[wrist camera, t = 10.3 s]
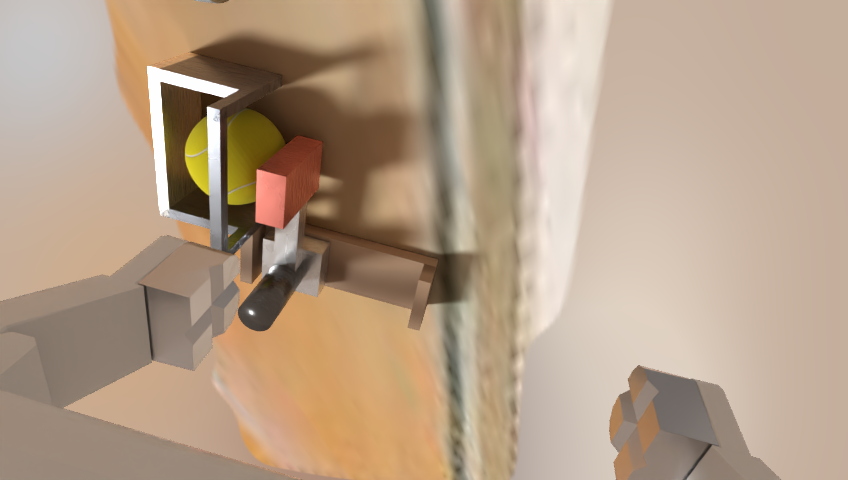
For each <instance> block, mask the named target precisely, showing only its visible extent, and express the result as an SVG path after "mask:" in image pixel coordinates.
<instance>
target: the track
mask: <svg viewBox="0 0 848 480" xmlns="http://www.w3.org/2000/svg"><path fill="white" fill-rule="evenodd" d="M272 228H273V227H272V226H269V225H265V224H262V225H261V226H260V227H259V228H258V229H257V230H256V232H255V233H254V234H253V235H252V236H251V237H250V238H249V239H248V240H247V241H246V242H245V243H244V244H243V245H242V246H241V271H240V281H242V282H246V283H249V284H252V283H253V282H254V280H255V279H256V278H257V277H258V276H259V274H260V273H261V272H262V255H263V238H264V237H265V236H266V235H267V234H268V233H269V232H270V230H271V229H272ZM304 235H305V236H309V237H313V238H317V239H320V240H324V241H328V242H330V250H329V259H328V267H327V276H326V284H325V286H328V287H332V288H335V289H339V290H343V291H346V292H350V293H353V294H357V295H361V296H364V297H368V298H372V299H375V300H379V301H382V302H386V303H390V304H393V305H397V306H401V307H404V308H408V309H412V311H411V315H410V320H409V324H408V328H412V329H415V330H420V327H421V323H422V320H423V317H424V313H425V310H426V307H427V303H428V299H429V295H430V291H431V287H432V283H433V279H434V275H435V271H436V267H437V263H438V259H435V258H432V257H428V256H424V255H420V254H417V253H413V252H409V251H406V250H402V249H398V248H394V247H391V246H387V245H383V244H380V243H376V242H372V241H368V240H365V239H361V238H357V237H353V236H350V235H346V234H342V233H339V232H335V231H331V230H327V229H324V228H320V227H316V226H313V225H309V224H305V233H304Z"/></svg>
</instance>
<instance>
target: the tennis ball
mask: <svg viewBox="0 0 848 480" xmlns="http://www.w3.org/2000/svg"><path fill="white" fill-rule="evenodd" d="M285 145H286V144H285V142H284V139H283V137H282V135H281V134H280V132H279V130H278V129H277V128H276V127H275V125H274V124H273V123H272V122H271V121H270V120H269V119H267V118H266V117H265V116H263V115H262V114H260V113H259V112H256V111H254V110H251V109H248V108H244V109H242V110H240V111H239V112H237V113H235V114H233V115H232V116H230V117H228V118H227V150H228V204H231V205H242V204H248V203H252V202H255V201H256V182H257V169H258V168H259V167H260V166H261V165H263V164H264V163H265V162H266V161H267V160H269V159H270V158H271V157H272V156H273V155H275V154H276V153H277V152H278V151H279V150H281V149H282V148H283V147H284V146H285ZM185 161H186V165H187V168H188V171H189V173H190V175H191V177H192V178H193V180H194V181H195V183H196V184H197V185H198V186H199V188H200V189H201V190H202V191H204V192H205V193H206V194H207V195H209V163H208V125H207V116H206V117H204V118H203V119H202V120H201V121H200V122H199V123H198V124H197V125H196V126H195V127H194V128H193V130H192V131H191V133H190V135H189V137H188V139H187V142H186V146H185Z"/></svg>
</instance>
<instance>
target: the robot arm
mask: <svg viewBox="0 0 848 480" xmlns="http://www.w3.org/2000/svg"><path fill="white" fill-rule="evenodd" d="M239 273H240V267H239V258H238V257H237V256H236V255H234V254H231V253H228V252H224V251H221V250H217V249H214V248H211V247H207V246H204V245H201V244H197V243H194V242H189V241H186V240H183V239H179V238H176V237H172V236H169V235H167V236H161V237H159V238H158V239H157V240H155V241H154V242H153V243H152V244H150V245H149V246H148V247H147V248H145V249H144V250H143V251H142V252H140V253H139V254H138V255H137V256H136V257H134V258H133V259H131V260H130V261H129V262H128V263H126V264H125V265H124V266H123V267H121V268H120V269H119V270H117V271H116V272H115V273H114V274H113V275H111V276H110V277H109V276H106V275H99V276H95V277H91V278H87V279H84V280H80V281H76V282H72V283H68V284H64V285H61V286H57V287H53V288H49V289H45V290H42V291H38V292H34V293H30V294H26V295H22V296H19V297H15V298H11V299H7V300H3V301H0V480H302V479H299V478H295V477H292V476H288V475H285V474H282V473H279V472H275V471H271V470H269V469H265V468H262V467H258V466H255V465H252V464H248V463H245V462H242V461H238V460H235V459H231V458H228V457H225V456H222V455H218V454H215V453H211V452H208V451H205V450H201V449H198V448H194V447H191V446H188V445H184V444H181V443H178V442H174V441H171V440H167V439H164V438H161V437H158V436H154V435H151V434H147V433H144V432H141V431H137V430H134V429H131V428H127V427H124V426H121V425H117V424H114V423H111V422H107V421H104V420H101V419H97V418H94V417H90V416H87V415H83V414H80V413H77V412H74V411H70V410H67V409H64V407H65V406H68V405H69V404H71V403H73V402H75V401H77V400H79V399H81V398H83V397H85V396H87V395H89V394H91V393H93V392H95V391H97V390H99V389H101V388H103V387H105V386H107V385H109V384H111V383H113V382H115V381H117V380H118V379H120V378H122V377H124V376H126V375H128V374H130V373H132V372H134V371H136V370H138V369H140V368H142V367H144V366H146V365H148V364H150V363H152V360H153V361H157V362H161V363H165V364H169V365H173V366H177V367H181V368H184V369H188V370H192V371H194V370H195V369H196V368H197V366H198V365H199V364H200V363H201V361H202V360H203V359H204V358H205V356H206V355H207V354H208V353H209V351H210V350H211V349H212V338H213V337H216V336H218V335H221V334H223V333H224V332H225V331H226V330H227V328H228V327H229V326H230V324H231V323H232V321H233V319H234V316H235V314H236V312H237V309H238V304H239V292H240V290H239V288H238V287H237V285H236V284H235V282H234V281H233V280H234V278H235V277H236V276H237V275H238V274H239ZM628 382H629V387H630V390H629V391H627V392H625V393H623V394H620V395H619V396H618V398H617V400H616V403H615V404H614V406H613V409H612V414H611V418H610V430H609V432H610V440H611V443H612V445H613V446H614V447H615V448H616V450H617V451H618V452H619V454H618V456H617V458H616V459H615V461H614V467H615V474H616V480H781V479H780V478H779V477H778V476H777V475H776V474H775V473H774V472H773V471H772V470H771V469H770V468H769V467H767V465H766V464H764V462H763V461H762V460H760V459H759V458H756V457H753V456H751V455H750V453H749V450H748V448H747V446H746V443H745V441H744V438H743V436H742V434H741V432H740V429H739V426H738V424H737V422H736V419H735V417H734V415H733V412H732V410H731V407H730V405H729V402H728V400H727V398H726V395H725V393H724V391H723V389H722V388H721V387H720V386H718V385H716V384H712V383H708V382H703V381H700V380H695V379H688V378H684V377H681V376H677V375H673V374H670V373H666V372H662V371H659V370H655V369H651V368H647V367H644V366H640V365H638V366H637V367H636V368H635V369H634V370H633V372H632V373H631V375H630V377H629V378H628Z"/></svg>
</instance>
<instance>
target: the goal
mask: <svg viewBox="0 0 848 480" xmlns="http://www.w3.org/2000/svg"><path fill="white" fill-rule="evenodd" d="M147 67H148V79H149V91H150V103H151V115H152V127H153V139H154V151H155V163H156V175H157V187H158V198H159V210H160V215H161V216H165V217H168V218H172V219H176V220H179V221H183V222H187V223H190V224H194V225H198V226H201V227H205V228H209V229H210V240H211V248H214V249H217V250H221V251H224V252H228V253H231V254H235V253H236V251H237V250H238V249H239V248H240V247H241V246H242V245H243V244H244V243H245V242H246V241H247V240H248V239H249V238H250V237H251V236H252V235H253V234H254V233H255V232H256V230H257V229H258V228H259V227H260V226H261V225H262V224H261V223H258V222H255V219H256V201H255V202H252V203H248V204H242V205H231V204H228V150H227V118H228V117H230V116H232V115H233V114H235V113H237V112H239V111H240V110H242V109H244V108H245V107H247V106H249V105H250V104H252V103H254V102H255V101H257V100H259V99H261V98H262V97H264V96H266V95H267V94H269V93H271V92H272V91H274V90H276V89H277V88H279V87H281V86H282V75H279V74H275V73H271V72H267V71H263V70H259V69H255V68H251V67H247V66H243V65H239V64H235V63H231V62H227V61H223V60H219V59H215V58H211V57H207V56H203V55H199V54H195V53H191V52H188V53H185V54H182V55H179V56H176V57H173V58H171V59H168V60H165V61H162V62H159V63H156V64H153V65H150V66H147ZM201 92H204V93H208V94H212V95H216V96H220V97H224V98H223V99H221V100H219V101H217V102H215V103H213V104H211V105H209V106H207V125H208V163H209V195H207V194H206V193H205V192H204V191H202V190H201V189H200V188H199V186H198V185H197V184H196V183H195V181H194V180H193V178H192V177H191V175H190V173H189V171H188V168H187V165H186V161H185V146H186V142H187V139H188V137H189V135H190V133H191V131H192V130H193V128H194V127H195V126H196V125H197V124H198V123H199V122H200V121H201V120H202V114H201ZM228 234H231V236H230V237H229V238H228Z"/></svg>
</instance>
